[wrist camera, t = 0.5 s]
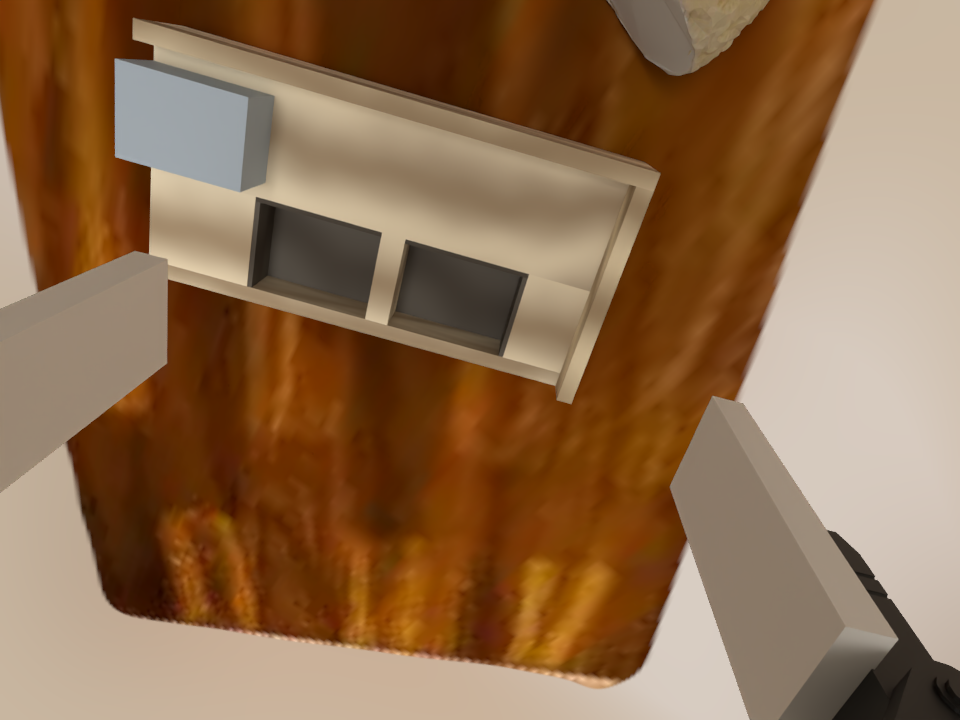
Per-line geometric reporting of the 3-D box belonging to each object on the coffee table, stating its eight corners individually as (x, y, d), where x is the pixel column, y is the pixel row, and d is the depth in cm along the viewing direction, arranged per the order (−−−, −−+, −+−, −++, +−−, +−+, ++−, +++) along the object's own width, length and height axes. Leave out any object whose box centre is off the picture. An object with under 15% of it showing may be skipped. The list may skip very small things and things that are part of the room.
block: (153, 60, 34) (114, 58, 31) (274, 95, 34) (248, 97, 31) (151, 150, 36) (115, 156, 33) (265, 182, 36) (240, 192, 33)
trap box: (183, 25, 36) (132, 18, 31) (644, 161, 37) (660, 173, 32) (173, 261, 42) (130, 282, 38) (566, 370, 43) (571, 403, 39)
